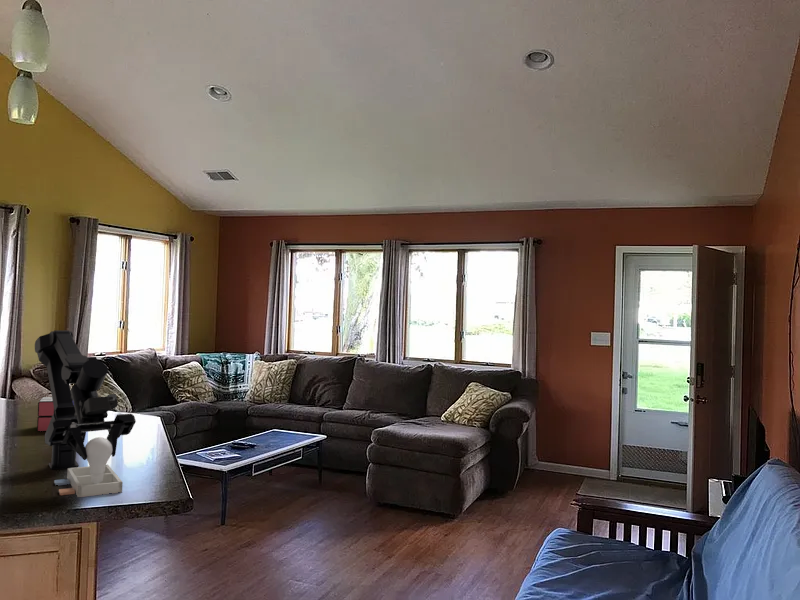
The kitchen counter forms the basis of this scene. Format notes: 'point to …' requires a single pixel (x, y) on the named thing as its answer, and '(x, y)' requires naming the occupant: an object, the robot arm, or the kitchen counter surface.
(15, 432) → the kitchen counter surface
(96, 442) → the lightbulb
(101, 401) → the robot arm
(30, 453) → the kitchen counter surface
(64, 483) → the socket board
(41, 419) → the puzzle cube
